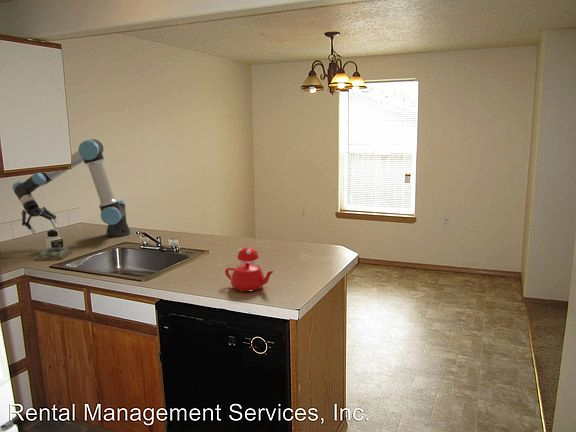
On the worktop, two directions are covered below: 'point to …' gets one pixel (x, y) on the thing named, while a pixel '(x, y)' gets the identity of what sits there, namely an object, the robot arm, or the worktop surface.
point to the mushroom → (247, 255)
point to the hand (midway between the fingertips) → (45, 230)
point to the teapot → (247, 277)
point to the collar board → (54, 254)
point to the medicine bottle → (54, 240)
